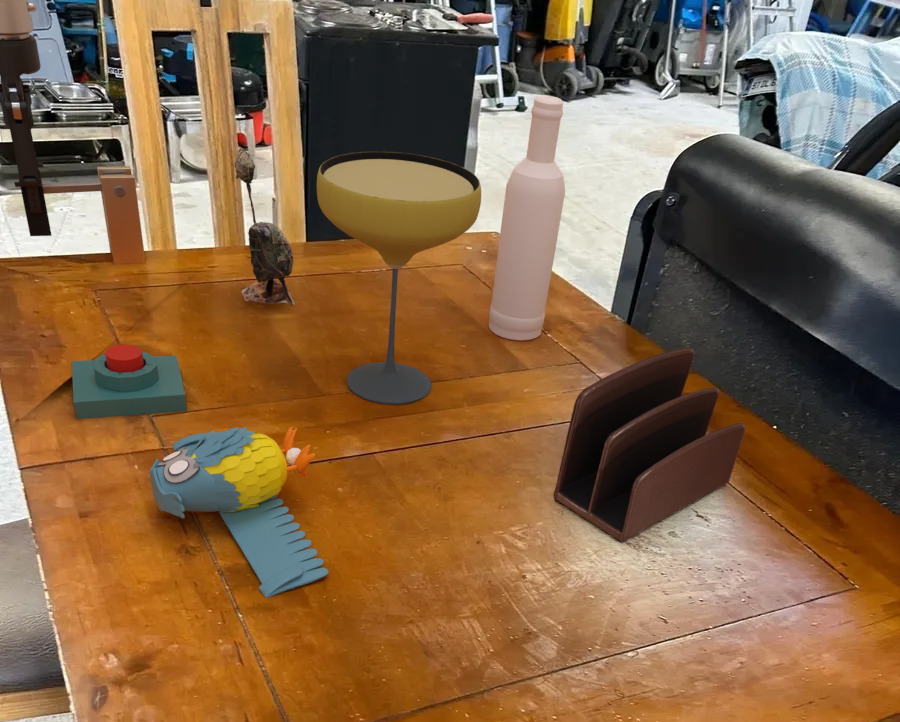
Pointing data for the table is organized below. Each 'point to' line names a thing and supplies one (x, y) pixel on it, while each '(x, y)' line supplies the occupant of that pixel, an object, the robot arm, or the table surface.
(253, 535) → the owl figurine
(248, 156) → the stone bird sculpture
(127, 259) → the bracket
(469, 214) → the cocktail glass
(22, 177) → the robot arm
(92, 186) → the lever
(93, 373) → the button block
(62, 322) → the table surface
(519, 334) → the bottle
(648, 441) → the letter holder
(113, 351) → the button
